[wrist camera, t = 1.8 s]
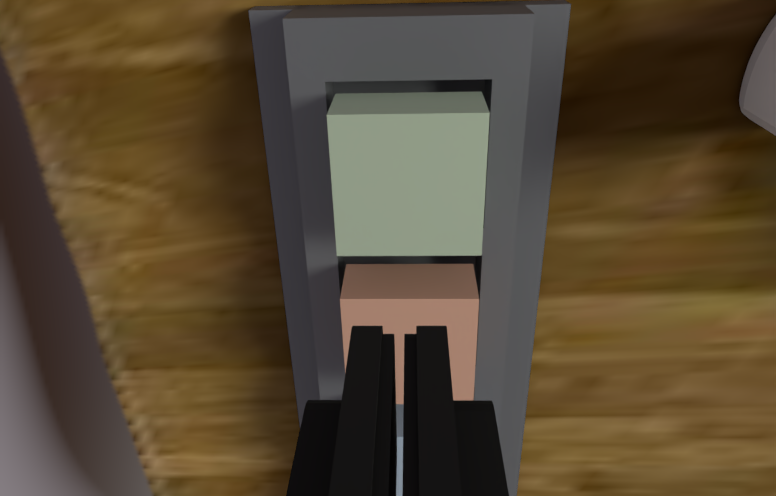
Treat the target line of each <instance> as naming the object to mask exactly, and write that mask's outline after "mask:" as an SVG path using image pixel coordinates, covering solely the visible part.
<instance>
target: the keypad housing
mask: <svg viewBox="0 0 776 496" xmlns="http://www.w3.org/2000/svg"><path fill="white" fill-rule="evenodd" d="M570 8H571V4H570V3H568V2H567V1H565V0H548V1H499V2H449V3H400V4H350V5H300V6H255V7H253V8H252V9H250V10H248V11H249V19H250V27H251V35H252V44H253V52H254V60H255V68H256V76H257V84H258V92H259V100H260V108H261V116H262V125H263V133H264V141H265V149H266V157H267V165H268V173H269V181H270V189H271V198H272V206H273V214H274V222H275V230H276V238H277V246H278V254H279V262H280V270H281V279H282V287H283V295H284V303H285V311H286V319H287V327H288V335H289V343H290V351H291V360H292V368H293V376H294V384H295V392H296V400H297V408H298V416H299V424H300V427H301V423H302V418H303V413H304V409H305V405H306V402H307V401H308V400H342V394H343V387H344V379H345V363H344V349H343V335H342V322H341V308H340V296H341V290H342V285H343V279H344V274H345V268H346V264H473V266H474V271H475V277H476V283H477V289H478V295H479V312H478V330H477V348H476V365H475V383H474V401H492V402H493V405H494V410H495V416H496V422H497V427H498V433H499V439H500V445H501V451H502V457H503V463H504V469H505V475H506V481H507V487H508V493H509V496H517V487H518V478H519V469H520V460H521V451H522V442H523V433H524V424H525V415H526V406H527V397H528V388H529V378H530V369H531V360H532V351H533V342H534V333H535V324H536V315H537V306H538V297H539V288H540V279H541V270H542V261H543V252H544V243H545V234H546V225H547V216H548V207H549V198H550V189H551V180H552V171H553V162H554V153H555V144H556V135H557V126H558V117H559V108H560V99H561V90H562V81H563V72H564V63H565V54H566V44H567V35H568V26H569V17H570ZM412 92H482V94H483V96H484V99H485V102H486V104H487V107H488V110H489V112H490V117H489V135H488V152H487V170H486V188H485V206H484V223H483V241H482V256H337V252H336V238H335V224H334V210H333V196H332V183H331V169H330V155H329V141H328V127H327V113H328V110H329V108H330V105H331V103H332V101H333V98H334V96H335V94H342V93H412Z"/></svg>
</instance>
